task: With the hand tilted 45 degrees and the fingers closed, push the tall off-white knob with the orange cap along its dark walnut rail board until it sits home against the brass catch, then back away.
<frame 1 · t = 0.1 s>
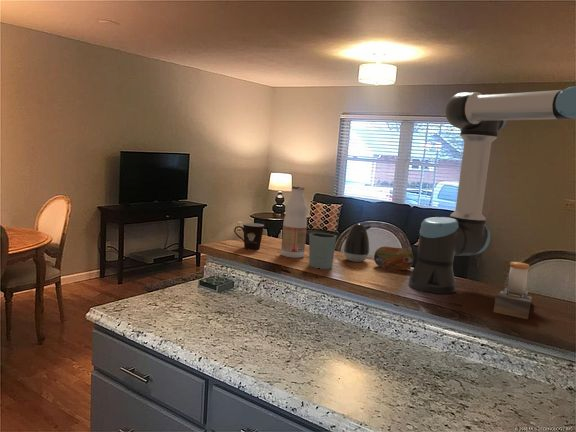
coffee mug: (249, 248, 202), on the worktop
tin: (392, 268, 185), on the worktop
green tapered cup: (319, 266, 178), on the worktop
knob mount: (512, 307, 145), on the worktop
knob: (517, 280, 149), point 8 cm above the worktop, slide at 0.0 cm
fruit juice: (292, 256, 193), on the worktop
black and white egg: (355, 261, 193), on the worktop
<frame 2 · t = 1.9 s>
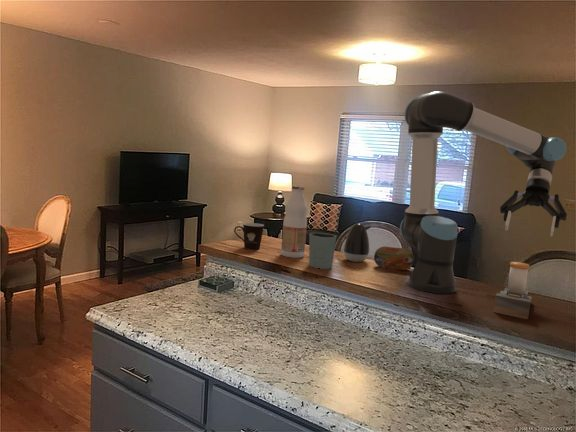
hand: (528, 230, 159), 22 cm above the worktop, tool tilted 45°, fingers open, 13 cm apart
nothing on the worktop moved.
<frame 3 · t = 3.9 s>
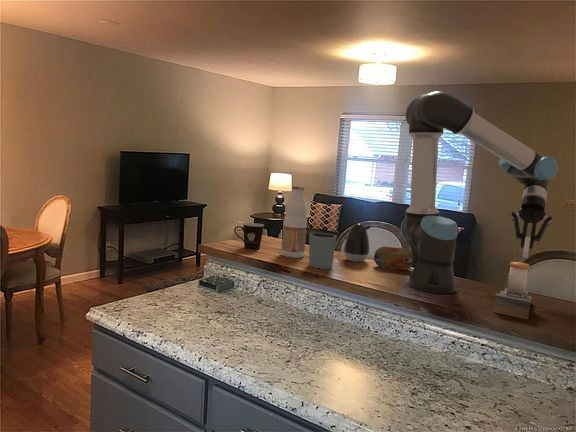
hand: (525, 254, 157), 14 cm above the worktop, tool tilted 45°, fingers closed
nothing on the worktop moved.
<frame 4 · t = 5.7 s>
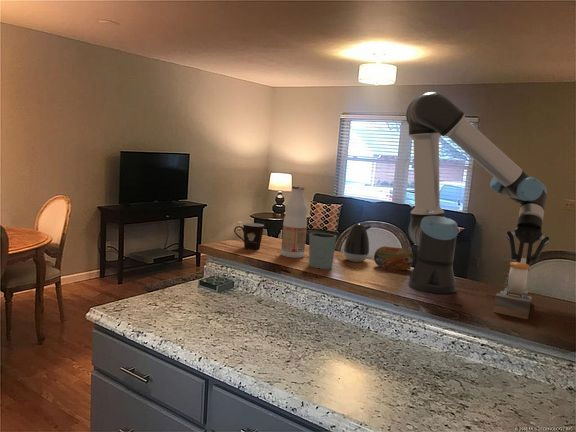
hand: (520, 277, 151), 8 cm above the worktop, tool tilted 45°, fingers closed
knob: (517, 280, 149), point 8 cm above the worktop, slide at 0.4 cm, touching gripper
everything else where it was.
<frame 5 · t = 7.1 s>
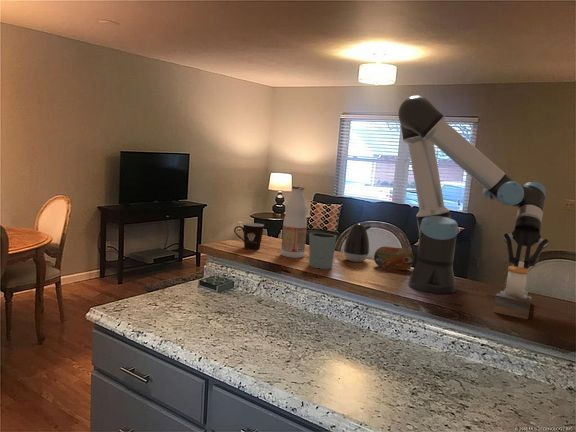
hand: (518, 281, 145), 8 cm above the worktop, tool tilted 45°, fingers closed
knob: (515, 285, 142), point 8 cm above the worktop, slide at 8.1 cm, touching gripper
everything else where it was.
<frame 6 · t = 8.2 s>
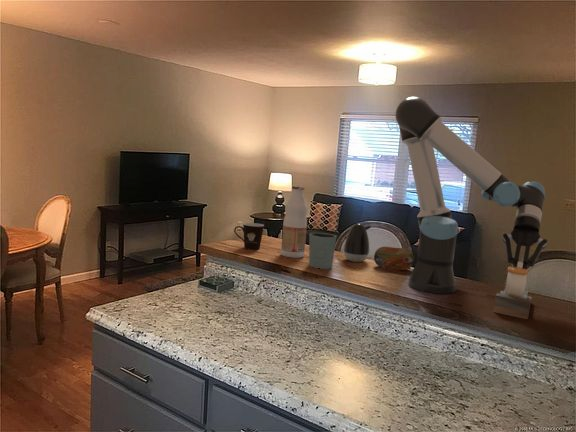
hand: (517, 282, 144), 8 cm above the worktop, tool tilted 45°, fingers closed
knob: (515, 286, 141), point 8 cm above the worktop, slide at 9.2 cm, touching gripper
everything else where it was.
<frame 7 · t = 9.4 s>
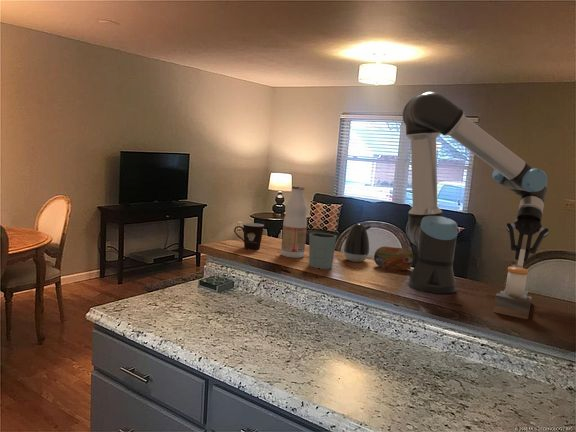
hand: (519, 267, 153), 11 cm above the worktop, tool tilted 45°, fingers closed
knob: (515, 286, 141), point 8 cm above the worktop, slide at 9.1 cm
everything else where it was.
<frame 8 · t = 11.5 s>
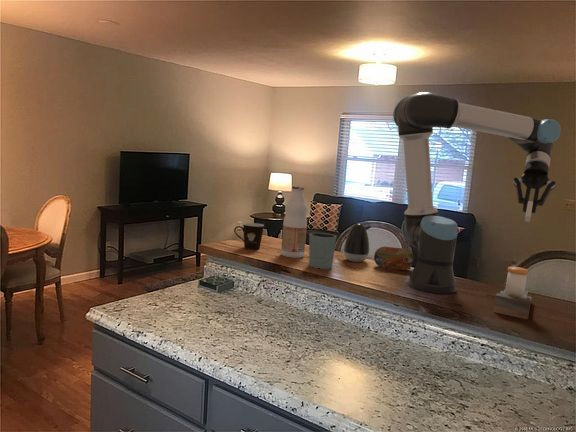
hand: (527, 218, 154), 26 cm above the worktop, tool tilted 45°, fingers closed
nothing on the worktop moved.
at the end: knob slide at 9.1 cm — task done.
